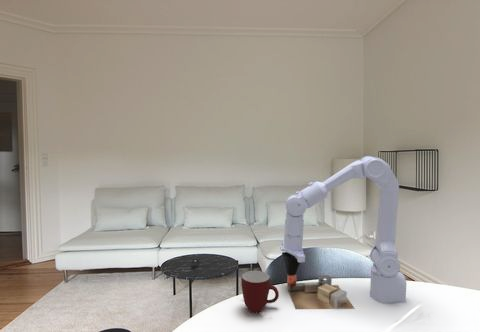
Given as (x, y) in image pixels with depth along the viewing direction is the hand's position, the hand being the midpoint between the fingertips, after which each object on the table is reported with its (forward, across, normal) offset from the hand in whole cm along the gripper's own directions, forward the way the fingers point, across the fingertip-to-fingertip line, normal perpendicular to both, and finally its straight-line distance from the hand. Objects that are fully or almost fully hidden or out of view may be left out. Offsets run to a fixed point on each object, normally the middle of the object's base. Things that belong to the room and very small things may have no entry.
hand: (291, 275), depth 103 cm
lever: (+4, +1, +6) cm, 7 cm away
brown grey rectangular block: (+5, +11, +10) cm, 16 cm away
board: (+5, +6, +7) cm, 10 cm away
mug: (+6, +8, -12) cm, 16 cm away
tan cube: (+4, +8, +9) cm, 12 cm away
